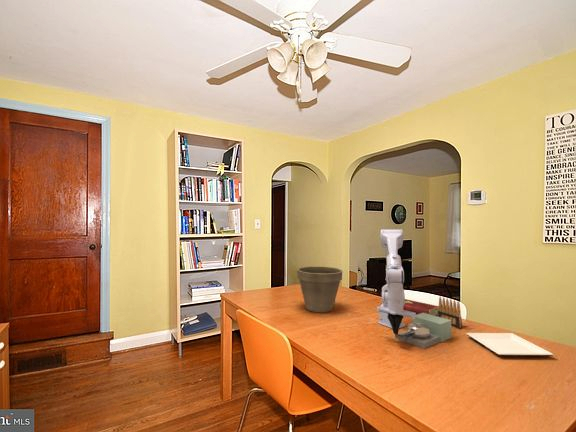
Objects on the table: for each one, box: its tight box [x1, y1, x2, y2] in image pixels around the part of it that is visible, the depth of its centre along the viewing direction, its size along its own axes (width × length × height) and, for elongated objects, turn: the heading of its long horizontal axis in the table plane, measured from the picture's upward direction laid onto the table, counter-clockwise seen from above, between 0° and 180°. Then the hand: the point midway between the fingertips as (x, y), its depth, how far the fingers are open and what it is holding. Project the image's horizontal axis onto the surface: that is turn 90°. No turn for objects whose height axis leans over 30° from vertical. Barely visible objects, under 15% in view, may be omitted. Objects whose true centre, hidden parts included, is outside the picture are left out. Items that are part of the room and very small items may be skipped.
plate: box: [465, 332, 555, 357], centre depth 105 cm, size 19×19×2 cm
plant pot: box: [296, 265, 343, 313], centre depth 155 cm, size 25×25×22 cm
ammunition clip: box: [437, 295, 463, 330], centre depth 129 cm, size 11×2×12 cm, turn 25°
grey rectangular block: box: [398, 313, 453, 350], centre depth 114 cm, size 12×19×7 cm, turn 124°
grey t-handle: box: [394, 322, 430, 342], centre depth 109 cm, size 16×8×4 cm, turn 124°
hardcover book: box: [403, 298, 439, 316], centre depth 150 cm, size 12×21×4 cm, turn 39°
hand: (395, 333), depth 111 cm, fingers closed
